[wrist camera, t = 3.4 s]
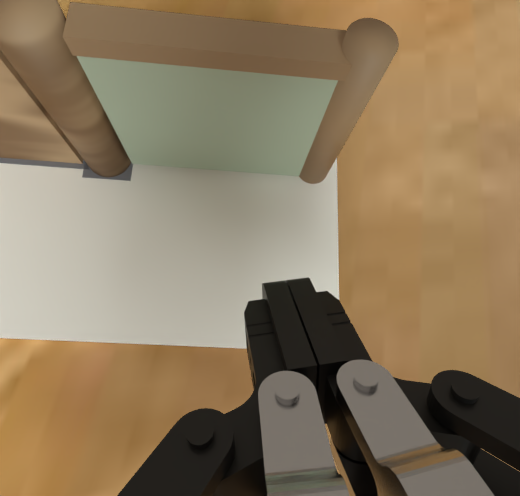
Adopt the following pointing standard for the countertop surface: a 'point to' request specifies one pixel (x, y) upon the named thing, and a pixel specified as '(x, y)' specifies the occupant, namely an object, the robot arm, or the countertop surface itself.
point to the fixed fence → (50, 94)
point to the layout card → (155, 250)
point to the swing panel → (229, 86)
